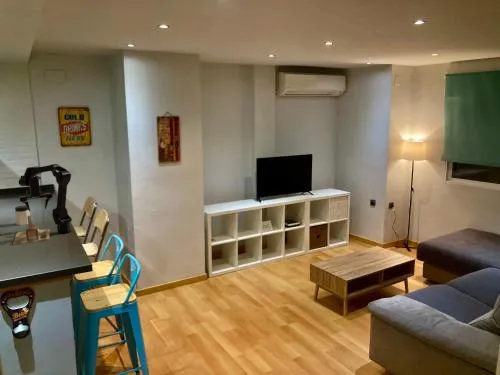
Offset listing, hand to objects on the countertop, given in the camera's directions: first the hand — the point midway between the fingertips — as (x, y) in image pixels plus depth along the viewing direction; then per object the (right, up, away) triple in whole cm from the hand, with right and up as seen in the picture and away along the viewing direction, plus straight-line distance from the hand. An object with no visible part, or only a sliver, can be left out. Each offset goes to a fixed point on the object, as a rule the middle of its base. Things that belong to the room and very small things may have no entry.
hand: (37, 210), depth 267 cm
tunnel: (+8, -15, -20) cm, 27 cm away
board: (+4, -16, -14) cm, 21 cm away
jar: (-20, -11, +20) cm, 31 cm away
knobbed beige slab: (+4, -14, -13) cm, 20 cm away
